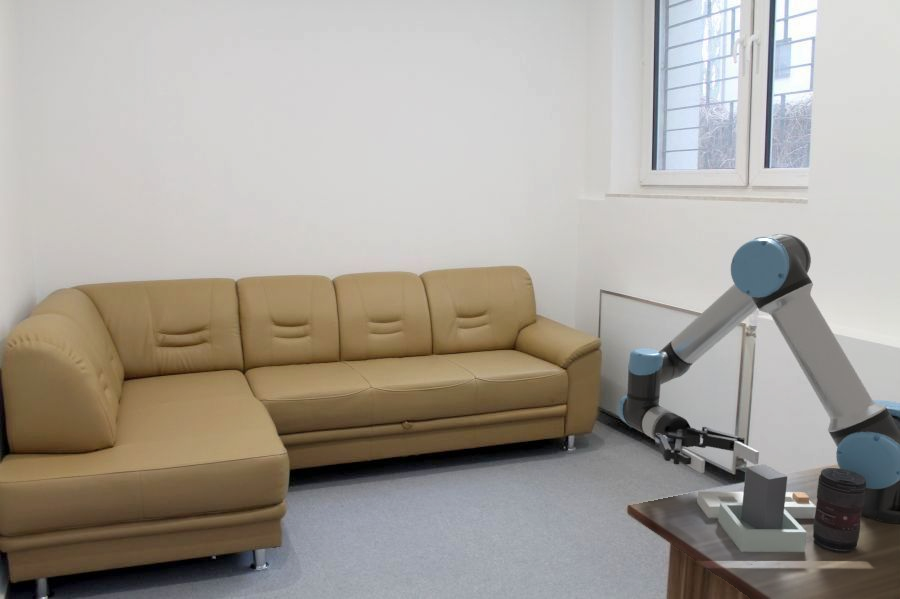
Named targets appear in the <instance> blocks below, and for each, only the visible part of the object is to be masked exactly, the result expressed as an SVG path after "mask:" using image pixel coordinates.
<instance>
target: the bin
mask: <svg viewBox="0 0 900 599" xmlns="http://www.w3.org/2000/svg"><path fill="white" fill-rule="evenodd" d="M742 505H743V503H720V507H719V518H717V519H718V520H717V522H718V523H719V525H720V526H721V527H722V529H723V530H724V531H725V533H726V534H727V536H728V537H729V538H730V539H731V541H732V542H733V543H734V544H735V546H736V547H737V549H738V550H739V551H740V552H741V553H806V552H805V551H806V545H807V544H806V543H807V534H808V532H807V531H806V529H804V527H803V526H802V525H801V524H800V523H799V522H798V521H797V519H794V518H793V517H792V516H791V515H790V514H789V513H788V512H787V511H786V510H785V509H784V514H783V523H782V529H753V527H752V526H750V525H748V524H747V523H745V522H744V521H742V520H741V515H742Z"/></svg>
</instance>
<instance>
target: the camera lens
mask: <svg viewBox="0 0 900 599" xmlns="http://www.w3.org/2000/svg"><path fill="white" fill-rule="evenodd" d="M866 487H867V486H866V479H865V478H864V477H863V476H861V475H860V474H858V473H855V472H852V471H849V470H844V469H840V468H839V467H827V468H823V469H821V471H820V474H819V475H818V482H817V489H816V499H817V500H816V505H815V506H816V512H815V518H814V519H813V526H812V527H813V528H812V530H813V532H812V535H813V536H812V537H813V540H814V542H815V543H816V545H817V546H818V547H820V548H822V549H823V550H826V551H830V552H833V553H837V554H849V553H851V552H854V549H856V547H857V546H858V545H857V544H858V542H859V538H860V534H861V533H860V532H861V524H862V522H861V521H862V508H863V506H864V502H865V495H866Z"/></svg>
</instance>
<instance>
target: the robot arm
mask: <svg viewBox="0 0 900 599" xmlns="http://www.w3.org/2000/svg"><path fill="white" fill-rule="evenodd" d="M811 264H812V259H811V253H810V250H809V248H808V247H807V245H806V244H805V243H804V242H803V241H802V240H801V239H800V238H799V237H797V236H794V235H792V234H788V233H777V234H773V235H768V236H759V237H755V238H754V239H751V240H749V241H747V242H745V243H743V244H742V245H741V246H740V247H739V248H738V249H737V250H736V252H735V253H734V254H733V256H732V259H731V263H730V276H731V279H732V281H733V284H732V285H731V286H730V287H729V288H728V289H727V290H726V291H725V292H724V293H722V294H721V295H720V296H719V297H718V298H717V299H716V300H715V301H714V302H713V303H711V305H709V306H708V307H706V309H705V310H704V311H703V312H701V314H699V315H698V316H697V317H696V318H695V319H694V320H692V322H690V324H688V325H687V326H686V327H685V328H684V329H683V330H681V331H680V333H678V334H677V335H676V336H675V337H674V338H672V340H671V341H669V342H668V343H667V344H666V345H665V346H664V347H663V348H662V349H660V350H657V349H652V348H644V347H643V348H642V347H641V348H636V349H633V350H632V351H630V354H629V361H628V364H627V368H628V372H627V391H626V392H627V394H626V395H624V396H623V397H622V398H620V401H619V404H618V405H617V415H618V417H619V419H621V421H622V422H624V423H625V424H626V425H627V426H629V427H630V428H632V429H635V430H637V431H638V432H640V433H642V434H644V435H646V436H647V437H650V438H651V439H653V440H654V441H655V442H654V444H655V446H656V447H658V449H659V450H660V452H661V454H662V457H663V460H664V461H666V462H670V461H671V459H673V461H672V462H673V464H674V465H680V463H682V464H684V465H686V466H687V467H689V468H691V469H693V470H695V471H697V473H700V474H705V467H706V466H705V465H706V459H705V458H702V457H701V456H699V455H697V454H695V453H693V452H691V451H690V450H688V449H686V448H693V447H696V448H701V449H705V448H706V447H709V448H714V449H720V450H725V451H730V452H733V454H734V455H736V456H737V457H740V458H742V459H744V460H746V461H748V462H750V463H752V464H753V465H759V458H760V457H759V456H760V451H759V450H757V449H754V448H753V447H751V446H749V445H747V444H745V437H742V436H740V435H735V434H731V433H727V432H722V431H720V430H715V429H712V428H709V427H707V426H702V428H701V430H699V429H696V428H694V427H691V425H690V423H689V422H688V420H687V419H685V418H684V417H682V416H681V415H678V414H676V413H674V412H672V411H671V410H668V409H666V408H664V407H662V406H660V405H659V404H660V395H661V385H663V384H665V383H668V382H669V381H671V380H674V379H676V378H680V377H682V376H683V375H684V374H686V373H687V372H688V371H690V368H691V366H692V365H693V364H694V363H696V361H698V360H699V359H700V358H701V357H702V356H704V355H705V354H707V352H708V351H709V350H710V349H712V348H713V347H714V346H716V344H718V343H719V342H720V341H721V340H722V339H724V338H725V337H726V335H728V334H729V333H731V332H732V331H733V330H734V329H736V327H738V326H739V325H740V324H741V323H742V322H744V321H745V319H747V318H748V317H749V316H751V315H752V314H753V313H754V312H755V311H756V310H757V309H758V310H759V312H764V313H767V314H768V315H770V316H771V318H772V320H773V321H774V323H775V325H776V327H777V329H778V330H779V332H780V334H781V336H782V337H783V338H784V340H785V343H786V344H787V345H788V347H789V349H790V351H791V353H792V354H793V356H794V358H795V360H796V361H797V363H798V364H799V367H800V369H801V370H802V372H803V374H804V375H805V377H806V379H807V381H808V383H809V384H810V386H811V388H812V389H813V391H814V393H815V395H816V396H817V398H818V399H819V402H820V403H821V405H822V407H823V408H824V410H825V412H826V414H827V415H828V418H830V422H829V423H828V424H829V426H828V428H827V431H828V433H829V435H830V437H831V439H832V440H833V442H834V444H835V445H836V447H837V448H836V451H835V452H836V453H835V454H836V456H835V458H836V462H837V466H838V468H839V469H844V470H849V471H852V472H855V473H858V474H860V475H861V476H863V477H864V478H865V479H866V486H867V487H866V495H865V502H864V506H863V508H862V514H861V516H862V515H863V516H865V517H867V518H870V519H872V520H873V519H874V520H877V521H879V522H885V523H889V524H898V525H899V524H900V402H896V401H889V400H880V399H879V400H877V399H875V400H873V399H872V397H871V396H870V394H869V391H867V388H866V387H865V385H864V383H863V382H862V380H861V378H860V376H859V375H858V373H857V371H856V370H855V367H854V366H853V365H852V363H851V361H850V359H849V358H848V356H847V355H846V353H845V350H843V348H842V346H841V344H840V343H839V341H838V339H837V338H836V336H835V334H834V332H833V331H832V329H831V327H830V326H829V324H828V322H827V321H826V319H825V317H824V316H823V314H822V311H820V308H819V307H818V305H817V303H816V302H815V301H814V299H813V297H812V295H811V291H812V288H813V286H814V283H813V281H812V280H811V278H810V276H809V274H808V272H809V271H810V269H811V268H810V267H811ZM701 439H702V443H701ZM683 447H684V448H683Z"/></svg>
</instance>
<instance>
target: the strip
mask: <svg viewBox="0 0 900 599" xmlns="http://www.w3.org/2000/svg"><path fill="white" fill-rule="evenodd" d="M743 494H744V491H697V496H696V497H697V500H696V504H697V505H698V506H699V508H700V509H701V510H702V511H703V513H704V515H706V517H707V518H708V519H718V518H719V507H720V503H743ZM784 509H785V510H786V511H787V512H788V513H789V514H790V515H791V516H792V517H793V518H794V519H795V520H797V519H800V520H801V519H803V520H804V519H811V520H812V519H813V520H814V518H815V512H816V505H815V504H814V503H813V502H812V501H811V500H810V496H809V495H807V493H806V492H801V491H786V495H785V505H784Z"/></svg>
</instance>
